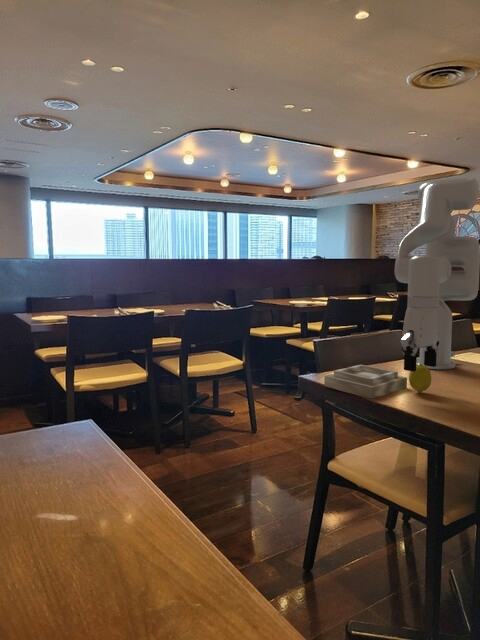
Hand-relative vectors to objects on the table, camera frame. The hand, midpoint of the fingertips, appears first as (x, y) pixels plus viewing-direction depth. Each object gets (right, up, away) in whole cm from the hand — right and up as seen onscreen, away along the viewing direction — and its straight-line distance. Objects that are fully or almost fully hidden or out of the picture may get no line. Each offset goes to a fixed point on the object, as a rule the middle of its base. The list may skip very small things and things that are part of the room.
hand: (420, 368), depth 121 cm
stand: (-12, -6, +8) cm, 16 cm away
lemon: (0, -7, +2) cm, 7 cm away
